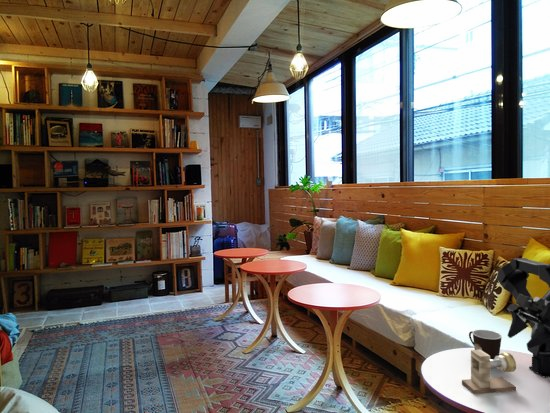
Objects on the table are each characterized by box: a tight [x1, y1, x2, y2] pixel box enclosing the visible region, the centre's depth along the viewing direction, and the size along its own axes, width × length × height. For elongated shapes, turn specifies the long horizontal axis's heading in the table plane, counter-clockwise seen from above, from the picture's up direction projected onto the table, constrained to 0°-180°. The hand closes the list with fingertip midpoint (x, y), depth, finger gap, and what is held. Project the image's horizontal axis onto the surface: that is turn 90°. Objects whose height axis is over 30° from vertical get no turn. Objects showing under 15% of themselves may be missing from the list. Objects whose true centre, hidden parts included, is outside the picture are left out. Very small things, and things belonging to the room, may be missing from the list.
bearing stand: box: [461, 349, 517, 395], centre depth 113 cm, size 13×6×10 cm, turn 96°
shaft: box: [490, 352, 517, 373], centre depth 114 cm, size 9×5×5 cm, turn 96°
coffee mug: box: [468, 329, 503, 369], centre depth 130 cm, size 12×9×10 cm
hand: (518, 341), depth 114 cm, fingers open, 8 cm apart
